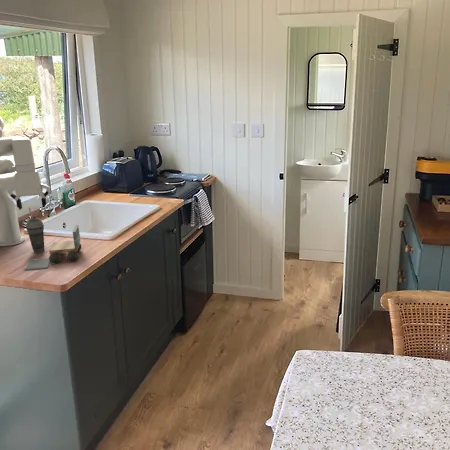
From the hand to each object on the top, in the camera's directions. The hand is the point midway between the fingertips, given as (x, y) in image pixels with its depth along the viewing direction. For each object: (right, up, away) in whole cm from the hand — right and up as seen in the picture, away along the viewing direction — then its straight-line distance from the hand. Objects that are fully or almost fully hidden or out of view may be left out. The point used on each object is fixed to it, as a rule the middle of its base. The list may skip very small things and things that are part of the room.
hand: (32, 207), depth 211 cm
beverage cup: (0, -19, +7) cm, 20 cm away
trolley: (+15, -21, -1) cm, 26 cm away
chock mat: (+6, -24, -8) cm, 25 cm away
